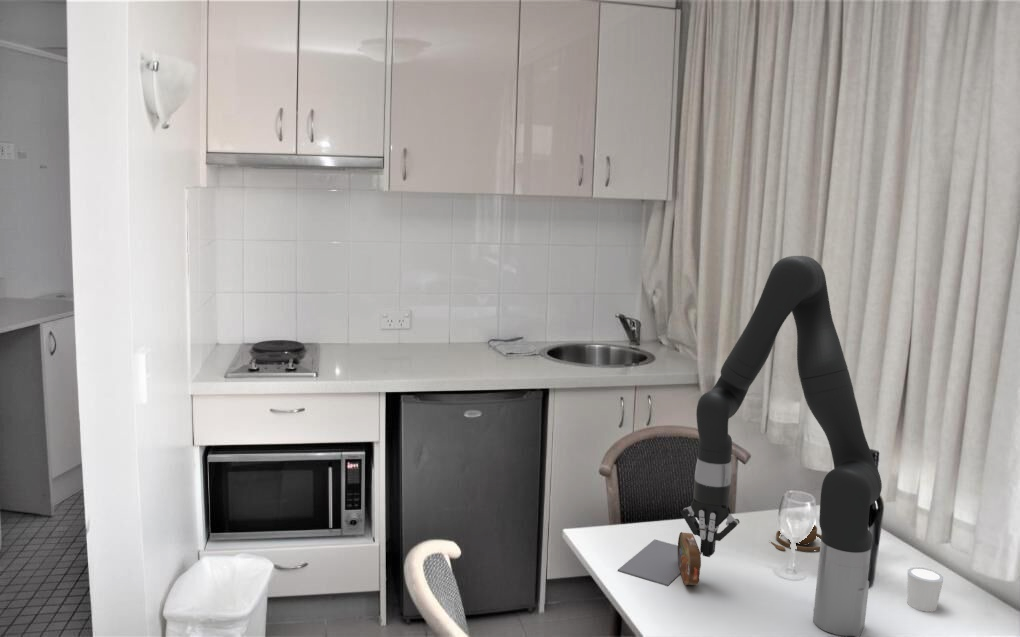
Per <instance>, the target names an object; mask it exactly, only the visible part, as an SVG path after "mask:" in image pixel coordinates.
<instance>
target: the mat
mask: <svg viewBox="0 0 1020 637" xmlns="http://www.w3.org/2000/svg"><path fill="white" fill-rule="evenodd" d="M701 554H702V553H701V551H700V555H701ZM617 572H620V573H624V574H626V575H630V576H633V577H636V578H640V579H643V580H647V581H649V582H653V583H657V584H659V585H663V586H666V587H668V586H670V584H672V583H673V582H674V581H675V580H676V579H678V577H679V576H681V572H680V569H679V566H678V544H673V543H669V542H666V541H662V540H658V539H653V540H652V541H651V542H650V543H648V544H647V545H646V546H644V547H643V548H642V549H641V550H640V551H638V553H636V554H635V555H633V556H632V558H630V559H628V560H627V562H625V563H624V564H623V565H622V566H620V567H619V568H618V569H617Z"/></svg>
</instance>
